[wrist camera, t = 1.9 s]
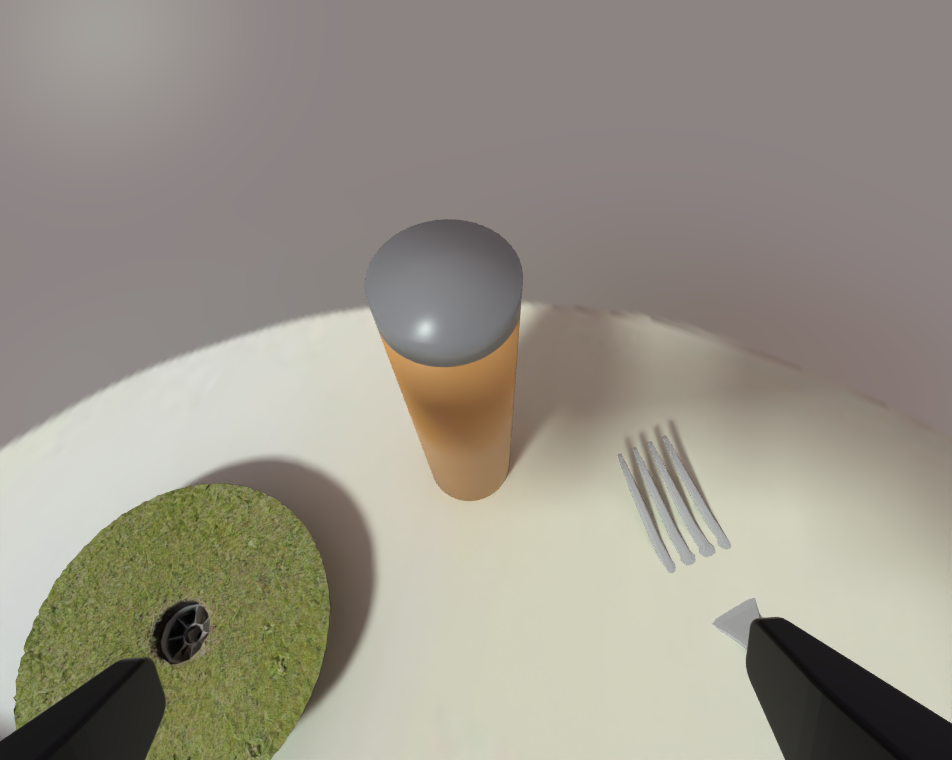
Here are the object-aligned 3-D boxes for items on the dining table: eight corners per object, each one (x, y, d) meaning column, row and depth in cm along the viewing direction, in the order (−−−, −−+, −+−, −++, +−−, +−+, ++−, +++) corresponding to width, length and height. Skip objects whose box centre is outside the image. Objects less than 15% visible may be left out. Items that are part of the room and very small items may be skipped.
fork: (1120, 1352, 12) (1214, 1461, 10) (601, 470, 23) (609, 457, 21) (1210, 1265, 12) (1313, 1356, 11) (661, 443, 23) (673, 428, 22)
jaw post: (517, 435, 23) (537, 233, 12) (498, 510, 22) (501, 359, 10) (444, 418, 24) (396, 209, 12) (421, 489, 22) (339, 324, 11)
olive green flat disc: (307, 833, 17) (286, 855, 15) (-2, 799, 17) (-57, 817, 16) (366, 502, 22) (354, 490, 20) (127, 487, 23) (97, 475, 21)
